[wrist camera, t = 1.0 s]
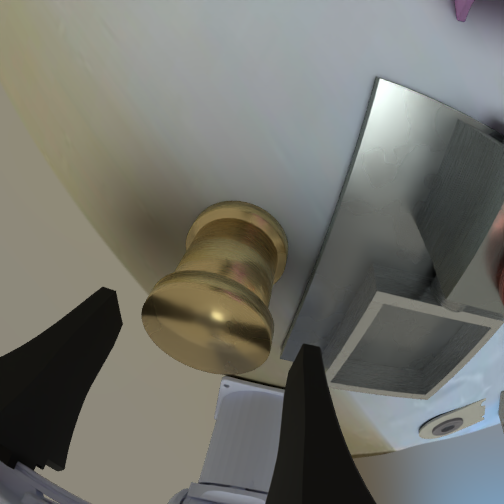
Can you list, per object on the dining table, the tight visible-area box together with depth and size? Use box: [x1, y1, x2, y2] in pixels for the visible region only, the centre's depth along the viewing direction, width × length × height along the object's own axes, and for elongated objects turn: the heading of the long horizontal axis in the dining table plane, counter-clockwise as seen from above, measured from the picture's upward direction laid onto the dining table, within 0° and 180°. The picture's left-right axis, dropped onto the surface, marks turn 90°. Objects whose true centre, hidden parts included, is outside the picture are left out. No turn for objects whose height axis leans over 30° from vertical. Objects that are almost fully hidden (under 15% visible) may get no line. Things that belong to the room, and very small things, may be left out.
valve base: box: [280, 77, 504, 400], centre depth 12 cm, size 18×13×7 cm
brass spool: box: [142, 201, 288, 375], centre depth 14 cm, size 5×5×6 cm
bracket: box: [419, 391, 504, 439], centre depth 23 cm, size 7×10×4 cm, turn 126°
